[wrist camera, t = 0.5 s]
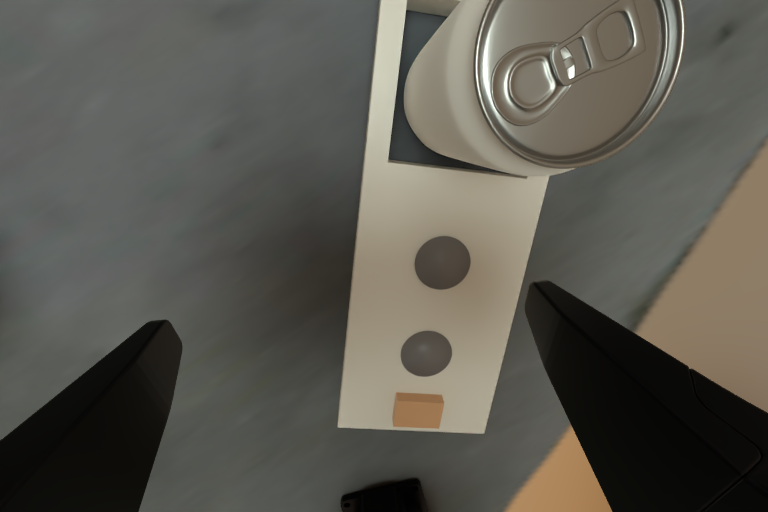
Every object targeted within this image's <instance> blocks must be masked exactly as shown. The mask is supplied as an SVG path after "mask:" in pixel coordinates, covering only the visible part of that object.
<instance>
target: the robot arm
mask: <svg viewBox="0 0 768 512" xmlns="http://www.w3.org/2000/svg"><path fill="white" fill-rule="evenodd" d="M525 313H526V316H527V319H528V322H529V325H530V328H531V331H532V334H533V337H534V340H535V343H536V346H537V348H538V351H539V354H540V357H541V360H542V363H543V365H544V368H545V370H546V372H547V375H548V377H549V379H550V381H551V383H552V385H553V387H554V389H555V391H556V394H557V396H558V398H559V400H560V402H561V404H562V406H563V408H564V410H565V413H566V415H567V417H568V419H569V421H570V423H571V425H572V427H573V429H574V431H575V434H576V436H577V438H578V440H579V442H580V444H581V446H582V448H583V450H584V452H585V455H586V457H587V459H588V461H589V463H590V465H591V467H592V469H593V472H594V474H595V476H596V478H597V480H598V482H599V484H600V486H601V488H602V490H603V493H604V495H605V497H606V499H607V501H608V503H609V505H610V507H611V509H612V512H768V413H767V412H765V411H763V410H761V409H760V408H758V407H756V406H754V405H753V404H751V403H749V402H747V401H745V400H744V399H742V398H740V397H738V396H737V395H735V394H733V393H732V392H730V391H728V390H727V389H725V388H723V387H721V386H720V385H718V384H716V383H715V382H713V381H711V380H710V379H708V378H707V377H705V376H703V375H702V374H700V373H698V372H697V371H695V370H693V369H689V367H688V366H687V365H685V364H683V363H682V362H680V361H679V360H677V359H675V358H674V357H672V356H671V355H669V354H667V353H666V352H664V351H662V350H661V349H659V348H658V347H656V346H654V345H653V344H651V343H650V342H648V341H646V340H645V339H643V338H641V337H640V336H638V335H637V334H635V333H633V332H632V331H630V330H628V329H627V328H625V327H624V326H622V325H620V324H619V323H617V322H615V321H614V320H612V319H611V318H609V317H607V316H606V315H604V314H602V313H601V312H599V311H598V310H596V309H594V308H593V307H591V306H589V305H588V304H586V303H585V302H583V301H581V300H580V299H578V298H576V297H575V296H573V295H572V294H570V293H568V292H567V291H565V290H563V289H562V288H560V287H559V286H557V285H555V284H554V283H552V282H550V281H548V280H542V281H533V282H532V283H531V284H530V286H529V290H528V294H527V298H526V302H525ZM181 355H182V342H181V340H180V338H179V336H178V335H177V333H176V331H175V329H174V328H173V326H172V324H171V323H170V322H169V321H168V320H156V321H150V322H148V323H146V324H145V325H144V326H142V327H141V328H140V329H139V330H137V331H136V332H135V333H134V334H132V335H131V336H130V337H129V338H127V339H126V340H125V341H124V342H122V343H121V344H120V345H119V346H117V347H116V348H115V349H114V350H112V351H111V352H110V353H109V354H108V355H106V356H105V357H104V358H103V359H101V360H100V361H99V362H98V363H96V364H95V365H94V366H93V367H91V368H90V369H89V370H88V371H86V372H85V373H84V374H83V375H81V376H80V377H79V378H78V379H76V380H75V381H74V382H73V383H71V384H70V385H69V386H68V387H66V388H65V389H64V390H63V391H61V392H60V393H59V394H58V395H56V396H55V397H54V398H53V399H52V400H50V401H49V402H48V403H47V404H45V405H44V406H43V407H42V408H40V409H39V410H38V411H37V412H35V413H34V414H33V415H32V416H30V417H29V418H28V419H27V420H25V421H24V422H23V423H22V424H20V425H19V426H18V427H17V428H15V429H14V430H13V431H12V432H10V433H9V434H8V435H7V436H5V437H4V438H3V439H2V440H0V512H138V511H139V508H140V505H141V502H142V499H143V495H144V492H145V489H146V486H147V483H148V480H149V476H150V473H151V470H152V467H153V464H154V461H155V457H156V454H157V451H158V448H159V445H160V442H161V438H162V435H163V432H164V429H165V426H166V423H167V419H168V416H169V412H170V409H171V405H172V400H173V395H174V390H175V385H176V380H177V375H178V370H179V365H180V360H181ZM414 486H415V487H414ZM341 508H342V511H343V512H428V509H427V506H426V502H425V498H424V494H423V491H422V487H421V483H420V481H418V480H410V481H406V482H401V483H397V484H393V485H389V486H385V487H381V488H376V489H372V490H368V491H364V492H360V493H356V494H351V495H347V496H344V497H343V498H342V499H341Z"/></svg>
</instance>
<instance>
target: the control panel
mask: <svg viewBox="0 0 768 512" xmlns="http://www.w3.org/2000/svg"><path fill="white" fill-rule="evenodd" d="M460 1H461V0H379V10H378V20H377V30H376V40H375V50H374V60H373V70H372V80H371V90H370V100H369V110H368V120H367V130H366V140H365V150H364V160H363V170H362V180H361V190H360V200H359V209H358V219H357V229H356V239H355V249H354V259H353V269H352V279H351V289H350V299H349V309H348V319H347V329H346V339H345V349H344V359H343V369H342V379H341V389H340V399H339V414H338V427H339V428H362V429H385V430H409V431H432V432H455V433H478V434H484V432H485V428H486V424H487V420H488V416H489V412H490V408H491V404H492V400H493V396H494V392H495V388H496V384H497V381H498V377H499V373H500V369H501V365H502V361H503V357H504V353H505V349H506V345H507V341H508V337H509V333H510V329H511V325H512V321H513V317H514V313H515V309H516V305H517V301H518V298H519V294H520V290H521V286H522V282H523V278H524V274H525V270H526V266H527V262H528V258H529V254H530V250H531V246H532V242H533V238H534V234H535V230H536V226H537V222H538V219H539V215H540V211H541V207H542V203H543V199H544V195H545V191H546V187H547V183H548V179H549V176H521V175H515V174H510V173H509V174H506V173H497V172H489V171H481V170H472V169H464V168H456V167H447V166H439V165H431V164H422V163H414V162H406V161H397V160H389V159H388V156H389V148H390V140H391V131H392V123H393V115H394V106H395V98H396V90H397V81H398V73H399V65H400V56H401V48H402V40H403V31H404V23H405V15H406V10H410V11H416V12H422V13H428V14H434V15H440V16H446V17H448V16H449V15H450V14H451V12H452V11H453V10H454V9H455V7H456V6H457V5H458V4H459V3H460Z"/></svg>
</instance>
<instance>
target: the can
mask: <svg viewBox="0 0 768 512" xmlns="http://www.w3.org/2000/svg"><path fill="white" fill-rule="evenodd" d="M685 41H686V15H685V7H684V2H683V0H461V1H460V3H459V4H458V5H457V6H456V7H455V9H454V10H453V11H452V12H451V14H450V15H449V16H448V17H447V19H446V20H445V21H444V22H443V24H442V25H441V26H440V27H439V28H438V30H437V31H436V32H435V33H434V35H433V36H432V37H431V39H430V40H429V41H428V42H427V44H426V45H425V46H424V47H423V49H422V50H421V51H420V53H419V54H418V56H417V57H416V59H415V60H414V62H413V64H412V66H411V68H410V70H409V72H408V75H407V78H406V82H405V88H404V110H405V115H406V118H407V120H408V123H409V125H410V127H411V129H412V130H413V132H414V133H415V135H416V136H417V137H418V138H419V140H420V141H421V142H422V143H423V144H424V145H425V146H427V147H428V148H429V149H431V150H433V151H434V152H436V153H439V154H441V155H444V156H447V157H450V158H454V159H457V160H461V161H464V162H468V163H471V164H475V165H479V166H482V167H486V168H490V169H494V170H497V171H501V172H505V173H510V174H515V175H521V176H550V175H555V174H560V173H564V172H567V171H570V170H572V169H575V168H579V167H584V166H588V165H591V164H594V163H597V162H600V161H602V160H604V159H607V158H609V157H611V156H613V155H614V154H616V153H618V152H619V151H621V150H622V149H624V148H625V147H627V146H628V145H629V144H631V143H632V142H633V141H634V140H635V139H636V138H638V137H639V136H640V135H641V134H642V133H643V132H644V131H645V130H646V129H647V127H648V126H649V125H650V124H651V123H652V122H653V120H654V119H655V118H656V116H657V115H658V114H659V112H660V111H661V109H662V108H663V106H664V104H665V103H666V101H667V99H668V97H669V95H670V93H671V91H672V89H673V87H674V84H675V82H676V79H677V77H678V74H679V71H680V67H681V64H682V59H683V55H684V49H685Z"/></svg>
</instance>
